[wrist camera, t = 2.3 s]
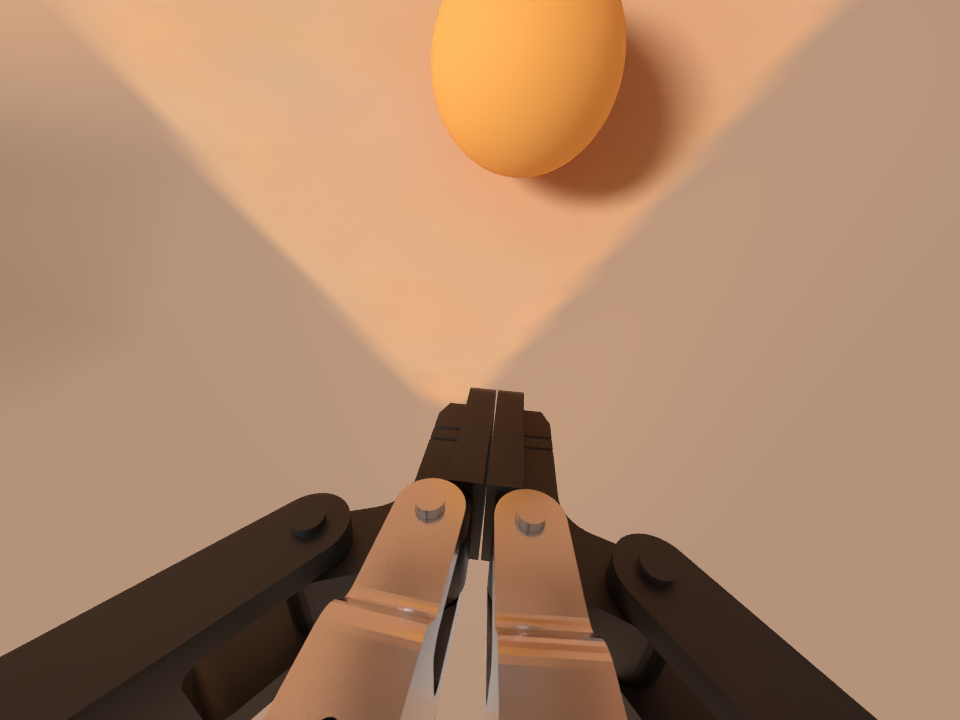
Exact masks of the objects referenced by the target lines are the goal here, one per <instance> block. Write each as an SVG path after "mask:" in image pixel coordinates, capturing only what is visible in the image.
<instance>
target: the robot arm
mask: <svg viewBox="0 0 960 720" xmlns="http://www.w3.org/2000/svg"><path fill="white" fill-rule="evenodd" d="M495 398H496V390H491V389H481V388H471V389H470V392H469V396H468V400H467V404H466V405H465V404H456V403H450V404H449V405H448V406H447V407H445V408H444V409H443V410H442V411H441V412H440V413H439V416H438V418H437V421H436V424H435V428H434V429H433V432H432V435H431V439H430V440H429V443H428V446H427V449H426V451H425V454H424V457H423V460H422V463H421V465H420V468H419V471H418V474H417V477H416V479H415V481H414V482H413V483H411V484H410V485H408V486H407V487H405V488H404V489H403V490H402V491H401V492H400V493H399V495H398V496H397V498H396V500H395V501H394V502H392V503H389V504H386V505H384V506H379V507H374V508H368V509H362V510H355V511H350V510H349V507H348V505H347V503H346V502H345V501H344V500H343V499H342V498H340V497H338V496H336V495H333V494H327V493H318V494H311V495H307V496H304V497H301V498H299V499H297V500H295V501H293V502H291V503H289V504H287V505H285V506H283V507H282V508H280V509H278V510H276V511H274V512H272V513H270V514H269V515H267V516H265V517H263V518H261V519H259V520H257V521H255V522H253V523H251V524H249V525H248V526H246V527H244V528H242V529H240V530H238V531H236V532H235V533H233V534H231V535H229V536H227V537H225V538H223V539H221V540H219V541H217V542H216V543H214V544H212V545H210V546H208V547H207V548H204V549H202V550H201V551H199V552H197V553H195V554H193V555H191V556H189V557H187V558H186V559H184V560H182V561H180V562H178V563H176V564H174V565H172V566H170V567H169V568H167V569H165V570H163V571H161V572H159V573H157V574H156V575H154V576H152V577H150V578H148V579H146V580H144V581H142V582H141V583H139V584H137V585H135V586H133V587H131V588H129V589H127V590H125V591H123V592H122V593H120V594H118V595H116V596H114V597H112V598H110V599H108V600H107V601H105V602H103V603H101V604H99V605H97V606H95V607H93V608H92V609H90V610H88V611H86V612H84V613H82V614H80V615H78V616H77V617H75V618H73V619H71V620H69V621H67V622H65V623H63V624H61V625H60V626H58V627H56V628H54V629H52V630H50V631H48V632H46V633H45V634H43V635H41V636H39V637H37V638H35V639H33V640H31V641H30V642H28V643H26V644H24V645H22V646H20V647H18V648H16V649H15V650H13V651H11V652H9V653H7V654H5V655H3V656H1V657H0V720H251V719H252V718H253V717H254V716H255V715H257V714H258V713H259V712H260V711H261V710H263V709H264V708H265V707H266V706H267V705H268V704H270V703H271V702H272V701H273V702H272V704H271V706H270V707H269V709H268V711H267V713H266V715H265V717H264V719H263V720H435V718H436V711H437V705H438V700H439V695H440V691H441V686H442V682H443V677H444V673H445V668H446V664H447V659H448V655H449V650H450V646H451V642H452V637H453V632H454V627H455V624H456V619H457V615H458V610H459V605H460V601H461V596H462V589H463V587H464V584H465V580H466V573H467V566H468V559H475V560H478V556H479V548H480V539H481V530H482V522H483V514H484V506H485V516H484V529H483V542H482V555H481V560H484V561H490V562H489V574H488V586H487V597H486V636H485V638H486V639H485V698H484V720H877V719H876V718H875V717H874V716H872V715H871V714H870V713H869V712H868V711H866V710H865V709H864V708H863V707H862V706H861V705H860V704H858V703H857V702H856V701H855V700H854V699H852V698H851V697H850V696H849V695H848V694H847V693H846V692H844V691H843V690H842V689H841V688H840V687H838V686H837V685H836V684H835V683H834V682H833V681H831V680H830V679H829V678H828V677H827V676H826V675H824V674H823V673H822V672H821V671H820V670H819V669H817V668H816V667H815V666H814V665H812V664H811V663H810V662H809V661H808V660H807V659H806V658H804V657H803V656H802V655H801V654H800V653H799V652H797V651H796V650H795V649H794V648H793V647H792V646H790V645H789V644H788V643H787V642H786V641H785V640H783V639H782V638H781V637H780V636H779V635H778V634H776V633H775V632H774V631H773V630H772V629H770V628H769V627H768V626H767V625H766V624H765V623H763V622H762V621H761V620H760V619H759V618H758V617H756V616H755V615H754V614H753V613H752V612H751V611H749V610H748V609H747V608H746V607H745V606H744V605H742V604H741V603H740V602H739V601H737V600H736V599H735V598H734V597H733V596H732V595H731V594H729V593H728V592H727V591H726V590H725V589H724V588H722V587H721V586H720V585H719V584H718V583H717V582H715V581H714V580H713V579H712V578H710V577H709V576H708V575H707V574H706V573H705V572H704V571H702V570H701V569H700V568H699V567H698V566H697V565H695V564H694V563H693V562H692V561H691V560H690V559H688V558H687V557H686V556H685V555H684V554H682V553H681V552H680V551H679V550H678V549H676V548H675V547H674V546H672V545H671V544H669V543H667V542H666V541H664V540H662V539H660V538H657V537H654V536H651V535H647V534H630V535H627V536H625V537H623V538H621V539H620V540H619V541H618V542H617V543H616V544H614V543H612V542H610V541H607V540H605V539H603V538H600V537H598V536H595V535H593V534H591V533H589V532H586V531H585V530H583V529H581V528H580V527H578V526H577V525H576V524H575V523H573V522H572V521H571V520H570V519H569V518H568V517H567V515H566V514H565V512H564V511H563V509H562V507H561V506H560V503H559V500H558V493H557V484H556V475H555V466H554V457H553V452H552V450H553V449H552V441H551V429H550V424H549V422H548V421H547V420H546V418H545V417H544V416H543V414H542V413H541V412H534V411H525V410H524V393H522V392H512V391H502V390H498V397H497V405H496V413H495V421H494V409H495ZM493 423H494V430H493ZM492 435H493V438H492ZM491 446H492V447H491ZM486 489H487V491H486ZM485 498H486V504H485Z"/></svg>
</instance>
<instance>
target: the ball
mask: <svg viewBox="0 0 960 720" xmlns="http://www.w3.org/2000/svg"><path fill="white" fill-rule="evenodd" d="M625 57H626V25H625V17H624V12H623V7H622V2H621V0H443V2H442V5H441V8H440V10H439V13H438V16H437V20H436V24H435V28H434V33H433V40H432V47H431V73H432V84H433V90H434V95H435V99H436V103H437V107H438V110H439V113H440V115H441V118H442V120H443V123H444V125H445V127H446V128H447V130H448V132H449V134H450V136H451V137H452V138H453V140H454V141H455V143H456V144H457V145H458V146H459V148H460V149H461V150H462V151H463V152H464V153H465V154H466V155H467V156H468V157H469V158H470V159H471V160H473V161H474V162H475V163H476V164H478V165H480V166H481V167H483V168H484V169H486V170H489V171H491V172H493V173H495V174H499V175H503V176H507V177H514V178H528V177H534V176H539V175H542V174H546V173H549V172H551V171H553V170H555V169H558V168H560V167H561V166H563V165H565V164H566V163H568V162H569V161H571V160H572V159H573V158H575V157H576V156H577V155H578V154H579V153H581V152H582V151H583V150H584V148H585V147H586V146H587V145H588V144H589V143H590V142H591V141H592V140H593V138H594V137H595V136H596V135H597V133H598V132H599V131H600V129H601V128H602V126H603V124H604V123H605V121H606V119H607V118H608V116H609V114H610V111H611V109H612V107H613V105H614V103H615V100H616V97H617V94H618V91H619V88H620V84H621V80H622V76H623V71H624V64H625Z"/></svg>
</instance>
